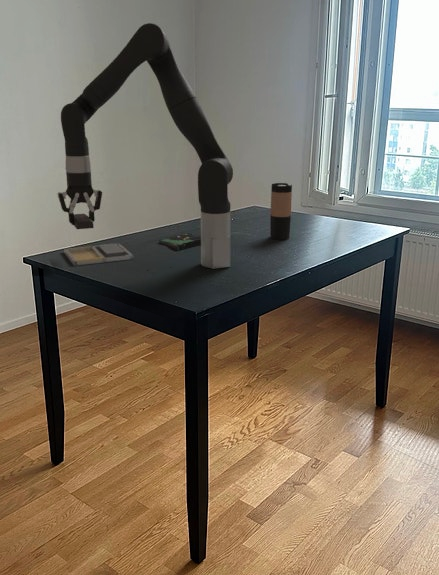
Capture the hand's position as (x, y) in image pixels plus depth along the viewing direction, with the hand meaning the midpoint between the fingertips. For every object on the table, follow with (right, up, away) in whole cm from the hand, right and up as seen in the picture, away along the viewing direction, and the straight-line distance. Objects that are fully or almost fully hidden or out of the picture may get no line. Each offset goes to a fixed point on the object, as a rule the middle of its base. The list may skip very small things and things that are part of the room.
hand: (82, 223), depth 186 cm
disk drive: (+31, -6, +24) cm, 40 cm away
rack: (+4, -11, +6) cm, 13 cm away
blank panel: (+8, -9, +7) cm, 14 cm away
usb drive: (0, -1, +1) cm, 1 cm away
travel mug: (+67, -2, +34) cm, 75 cm away
